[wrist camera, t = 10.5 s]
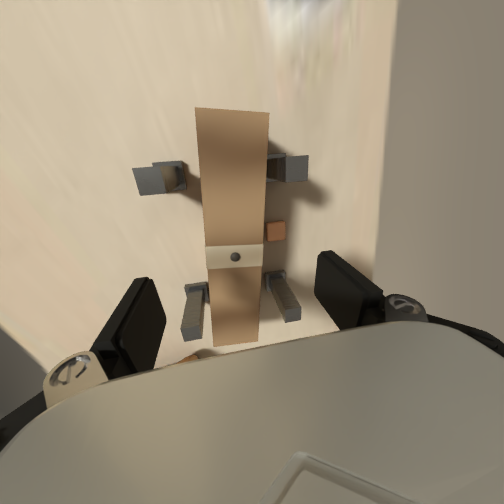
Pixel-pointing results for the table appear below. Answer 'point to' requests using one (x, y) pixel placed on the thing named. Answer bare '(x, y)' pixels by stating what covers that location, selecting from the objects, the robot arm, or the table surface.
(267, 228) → the brown flat block
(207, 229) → the tan plank with band
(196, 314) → the pair of grey posts
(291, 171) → the gray u-shaped bracket
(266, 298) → the table surface
